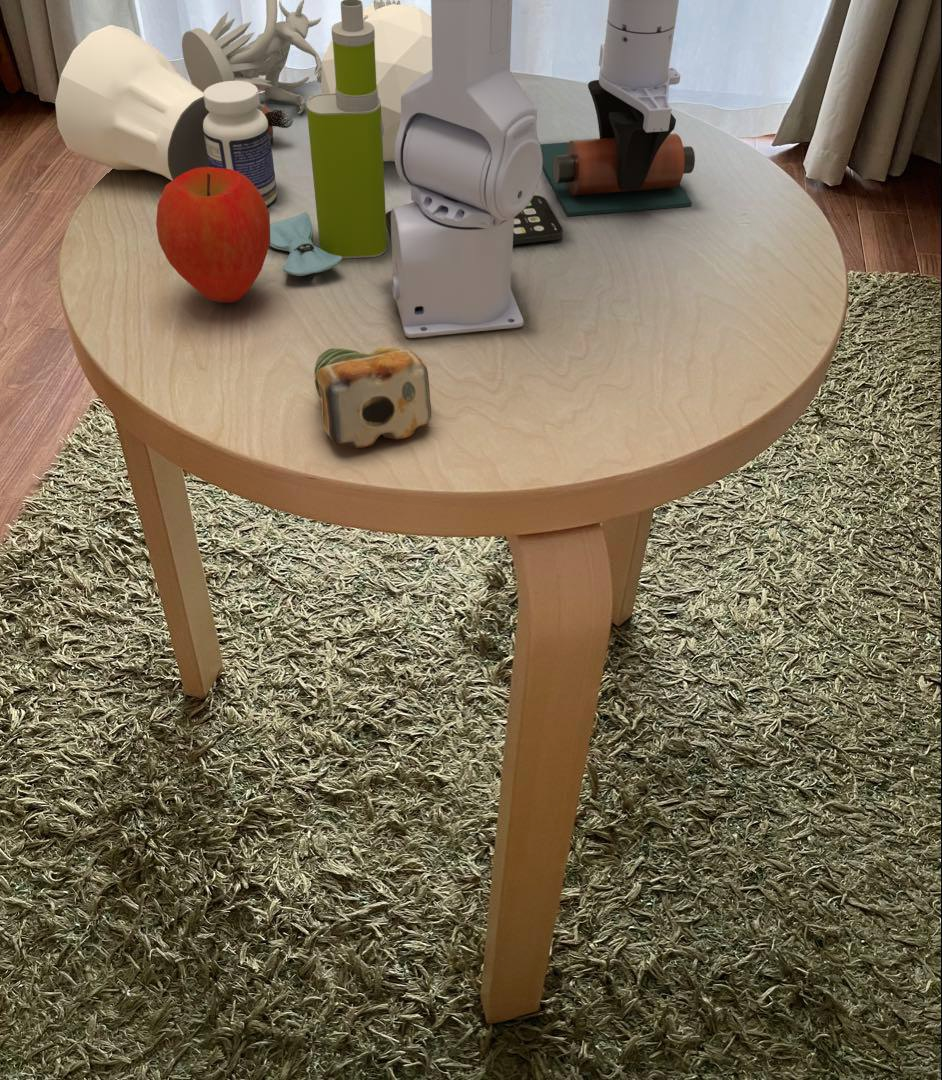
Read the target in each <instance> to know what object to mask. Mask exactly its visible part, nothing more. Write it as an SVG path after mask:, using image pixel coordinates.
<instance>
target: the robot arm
mask: <svg viewBox="0 0 942 1080" xmlns="http://www.w3.org/2000/svg"><path fill="white" fill-rule="evenodd" d="M608 1H609V2H608V10H607V19H606V29H605V36H604V37H605V39H604V43H601V44H600V48H599V60H598V66H599V73H598V79H594V80H591V81H589V82H588V83H587V89H588V91H589V93H590V96H591V99H592V102H593V105H594V108H595V113H596V119H597V126H598V135H599V139H602V138H615V140H616V148H617V179H618V186H619V188H620V190H634V189H641V188H642V186H643V184H644V182H645V179H646V177H647V175H648V172H649V170H650V167H651V165H652V162H653V160H654V158H655V156H656V154H657V152H658V150H659V148H660V146H661V145H662V143H663V142H664V141H665V139H666V138H667V137H668V135H669V134H672V132H673V131H674V130H675V127H676V123H677V119H676V118H675V115H673V114H672V107H671V105H670V103H669V95H670V94H669V92H670V86H672V85H678V84H679V83H680V82H681V81H680V80H681V74H680V73H679V72H678V71H677V69H675V68H674V67H670V61H671V56H672V49H673V44H674V43H673V42H674V35H675V27H676V22H677V15H678V8H679V1H680V0H608ZM430 14H431V15H430V16H431V25H432V70H431V71H429V72H428V73H426V74H425V75H423V76H421V77H420V78H418V79H417V80H416V81H414V82H413V83H412V84H411V85H410V86H409V87H408V88H407V90H406V91H405V92H404V93H403V94H402V95H401V119H400V125H399V129H398V132H397V135H396V139H395V147H394V156H395V161H394V165H395V169H396V172H397V174H398V177H399V178H400V180H402V181H403V182H404V183H405V184H407V185H409V186H410V197H411V198H410V199H411V201H412V202H410V203H407V204H403V205H400V206H399V205H398V206H395V207H392V208H391V209H390V211H391V235H390V239H391V240H390V241H391V262H392V263H391V265H392V276H391V289H392V296H393V299H394V300H395V302H396V306H397V309H398V314H399V317H400V322H401V325H402V329H403V333H404V336H405V337H406V338H411V339H413V338H424V337H435V336H444V335H454V334H466V333H475V332H487V331H496V330H504V329H505V330H506V329H507V330H508V329H515V328H521V327H523V325H524V318H523V316H522V313H521V311H520V307H519V305H518V304H517V301H516V299H515V295H514V293H513V291H512V288H511V286H512V269H513V268H512V267H513V249H514V248H513V247H514V245H513V230H514V217H515V216H516V215H518V214H519V213H520V212H521V211H522V210H523V209H524V208H525V207H526V206H527V205H528V204H529V202H530V201H531V199H532V198H533V196H534V195H535V194H536V192H537V190H538V187H539V184H540V181H541V178H542V177H541V176H542V172H543V168H542V163H543V160H542V152H541V146H540V144H541V142H540V139H539V137H538V130H537V129H538V128H537V121H538V119H537V118H538V109H537V107H536V105H535V104H534V103H533V101H532V100H531V98H530V97H529V95H528V94H527V92H526V91H525V90H524V89H523V87H522V86H521V85H520V83H519V82H518V81H517V80H516V78H515V76H514V75H513V73H512V71H511V54H512V53H511V51H512V49H511V48H512V24H513V23H512V22H513V21H512V20H513V19H512V18H513V0H430Z"/></svg>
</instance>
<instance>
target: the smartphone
mask: <svg viewBox="0 0 942 1080" xmlns="http://www.w3.org/2000/svg"><path fill="white" fill-rule="evenodd" d="M386 228H387V229H388V232H389V235H390V236H391V210H389V211H387V212H386ZM563 233H564V228H563V227H562V225H561V223H560V221H559V220H558V218H557V216H556V215H555V213H554V211H553V209H552V208H551V206H550V204H549V202H548V200H547V199H546V198H545V197H543V196H541V195H535V194H534V196H533V198H532V199H531V201H530V202H529V204H528V205H527V206H526V207H525V208H524V209H523V210H522V211H521V212H520V213H519V214H518V215H516V216H515V217H514V230H513V246H514V245H522V244H530V243H540V242H549V241H556V240H559V239H562V237H563Z"/></svg>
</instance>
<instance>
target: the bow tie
mask: <svg viewBox="0 0 942 1080" xmlns="http://www.w3.org/2000/svg"><path fill="white" fill-rule="evenodd" d="M312 236H313V223H312V220H311V217H310V215H309V212H308V211H305V212H302V213H300V214H298V215H296V216H293V217H288V218H286V219H285V218H284V219H282V220H278V221H276V222H273V223H270V245H269V247H271V248H274V249H277V250H280V251H284V252H289V254H288V256H287V258H286V260H285V263H284V265H283V269H282V270H283V272H284V273H286V274H289V275H292V276H296V277H303V276H307V275H311V274H317V273H321V272H325V271H327V270H330V269H332V268H335V266H337V265H338V264H339V263H340V262H341V261H342V260H343V258H342V256H338V255H333V254H329V253H327V252H325V251H323V250H322V249H320V247H317V246H316V245H314V243H313V241H312V238H313V237H312Z"/></svg>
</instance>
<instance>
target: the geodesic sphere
mask: <svg viewBox="0 0 942 1080" xmlns="http://www.w3.org/2000/svg"><path fill="white" fill-rule="evenodd" d="M363 21H365V22H368V23H370V24H372V25H373V26H374V30H375V39H374V41H375V63H376V85H377V89H378V97H379V99H380V101H381V117H382V122H383V127H384V134H383V137H382V141H383V162H395V156H394V147H395V139H396V135H397V132H398V129H399V125H400V119H401V95H402V94H403V93H404V92H405V91H406V90H407V88H408V87H409V86H410V85H411V84H412V83H413V82H414V81H416V80H417V79H418V78H420V77H421V76H423V75H425V74H426V73H428V72H429V71H431V70H432V25H431V15H430V14H429V13H427V12H426V11H424V10H423V9H422V8H420V7H417V6H414V5H409V4H401V1H400V0H397V2H396V0H392V2H391V0H386V2H384V1H383V0H373V2H372V3H370V4H369V5H367V6H366V7H365V8H364V7H363ZM320 85H321V87H320V89H321V92H320V94H329V93H336V92H335V90H336V78H335V65H334V51H333V39H332V38H331V41H330V42H329V45H328V47H327V49H326V51H325V53H324V55H323V57H322V59H321V83H320Z"/></svg>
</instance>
